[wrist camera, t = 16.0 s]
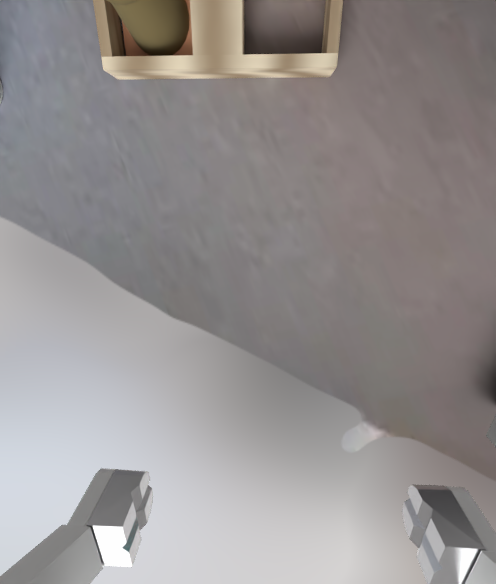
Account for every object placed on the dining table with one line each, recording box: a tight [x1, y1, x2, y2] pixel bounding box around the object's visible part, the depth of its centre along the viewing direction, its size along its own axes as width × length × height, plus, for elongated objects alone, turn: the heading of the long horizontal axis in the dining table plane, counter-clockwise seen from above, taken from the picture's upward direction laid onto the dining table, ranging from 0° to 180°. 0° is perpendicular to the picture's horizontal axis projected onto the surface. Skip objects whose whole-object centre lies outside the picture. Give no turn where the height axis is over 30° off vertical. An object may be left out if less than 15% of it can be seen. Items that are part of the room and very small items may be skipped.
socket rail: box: [93, 0, 343, 79], centre depth 27 cm, size 22×10×3 cm, turn 90°
